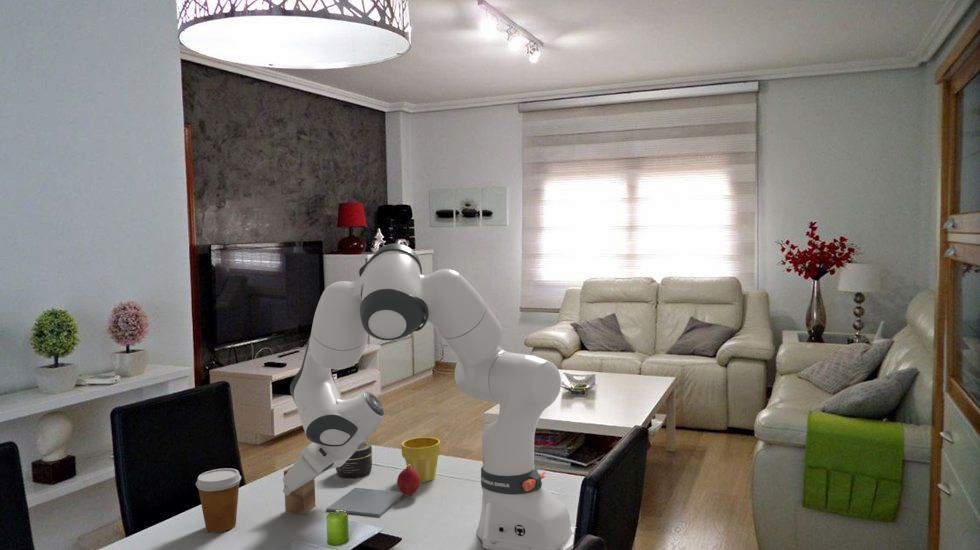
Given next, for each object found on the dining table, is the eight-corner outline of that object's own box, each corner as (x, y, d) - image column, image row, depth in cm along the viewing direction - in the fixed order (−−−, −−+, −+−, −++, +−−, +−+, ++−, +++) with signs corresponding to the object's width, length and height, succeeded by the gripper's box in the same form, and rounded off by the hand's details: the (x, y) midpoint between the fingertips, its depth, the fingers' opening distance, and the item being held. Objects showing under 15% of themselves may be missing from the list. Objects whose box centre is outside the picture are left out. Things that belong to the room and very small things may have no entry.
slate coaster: (405, 494, 171) (405, 492, 171) (380, 516, 158) (380, 514, 158) (355, 489, 175) (355, 487, 175) (326, 511, 162) (326, 508, 162)
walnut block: (315, 506, 165) (313, 465, 165) (304, 514, 160) (302, 472, 160) (297, 504, 167) (295, 464, 166) (285, 512, 162) (283, 471, 161)
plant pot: (396, 476, 184) (394, 441, 184) (430, 469, 190) (429, 434, 189) (413, 488, 176) (412, 450, 175) (448, 479, 181) (447, 443, 181)
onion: (416, 501, 166) (416, 469, 166) (393, 500, 167) (394, 467, 167) (423, 492, 172) (423, 461, 172) (401, 491, 173) (401, 460, 173)
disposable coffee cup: (216, 539, 148) (213, 485, 147) (189, 530, 153) (186, 477, 152) (252, 523, 156) (250, 471, 155) (225, 515, 161) (223, 465, 160)
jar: (368, 479, 183) (367, 451, 183) (331, 480, 183) (330, 452, 183) (375, 466, 193) (374, 440, 193) (340, 467, 193) (339, 440, 193)
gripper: (346, 425, 170) (312, 461, 173) (300, 450, 150) (263, 490, 154) (363, 444, 169) (329, 480, 172) (318, 472, 149) (281, 511, 153)
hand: (297, 485), depth 163 cm, fingers open, 8 cm apart
